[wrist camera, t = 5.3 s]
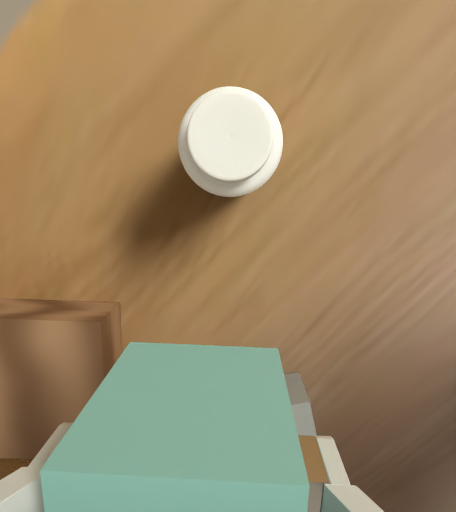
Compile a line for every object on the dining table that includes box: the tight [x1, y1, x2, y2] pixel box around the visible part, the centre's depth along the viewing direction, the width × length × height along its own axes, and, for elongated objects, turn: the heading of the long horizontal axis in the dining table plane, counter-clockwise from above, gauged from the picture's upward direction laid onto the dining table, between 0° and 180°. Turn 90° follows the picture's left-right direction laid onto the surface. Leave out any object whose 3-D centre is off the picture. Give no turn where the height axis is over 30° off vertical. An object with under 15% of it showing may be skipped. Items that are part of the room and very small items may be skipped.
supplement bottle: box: [178, 86, 283, 197], centre depth 19 cm, size 6×6×10 cm
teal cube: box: [40, 342, 310, 512], centre depth 9 cm, size 5×5×5 cm
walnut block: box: [0, 299, 122, 459], centre depth 26 cm, size 12×12×4 cm
